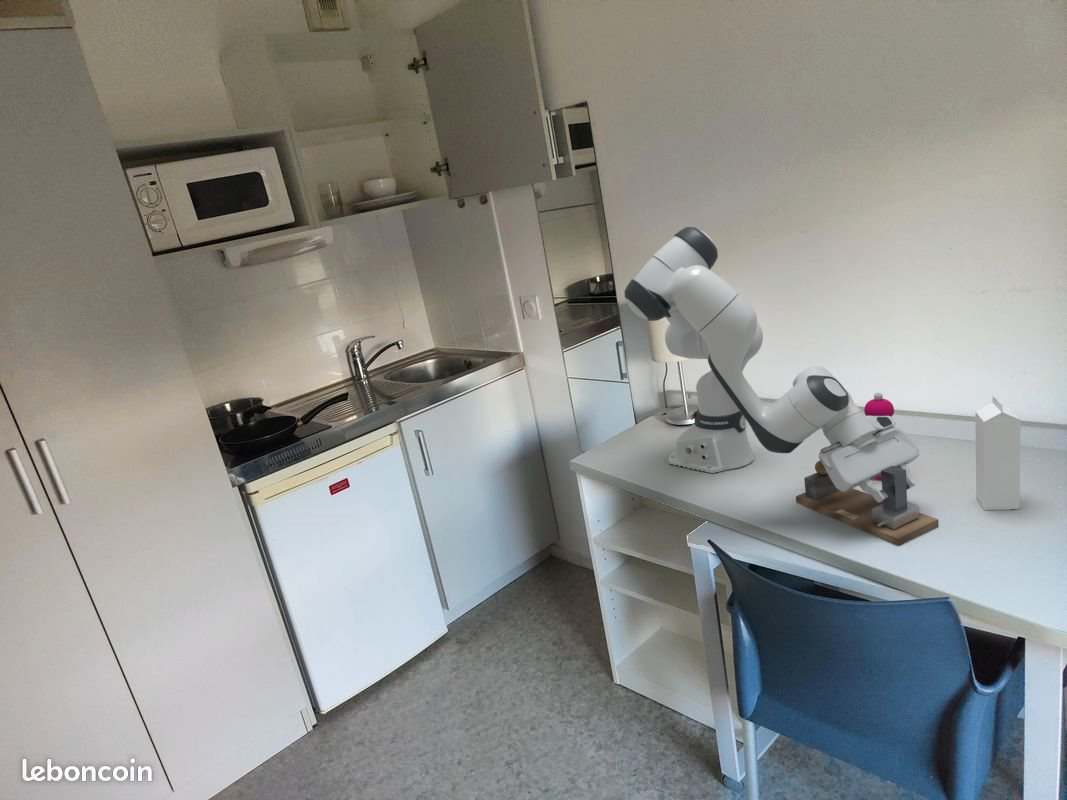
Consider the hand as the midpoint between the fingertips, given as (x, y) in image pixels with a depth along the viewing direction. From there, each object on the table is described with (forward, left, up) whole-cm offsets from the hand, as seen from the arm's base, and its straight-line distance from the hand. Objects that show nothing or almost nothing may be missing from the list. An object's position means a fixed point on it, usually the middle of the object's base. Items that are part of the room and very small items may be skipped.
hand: (897, 494), depth 133 cm
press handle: (-1, 0, -6) cm, 6 cm away
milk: (+15, +16, -8) cm, 23 cm away
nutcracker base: (-8, +4, -7) cm, 11 cm away
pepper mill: (-8, +24, -8) cm, 26 cm away
